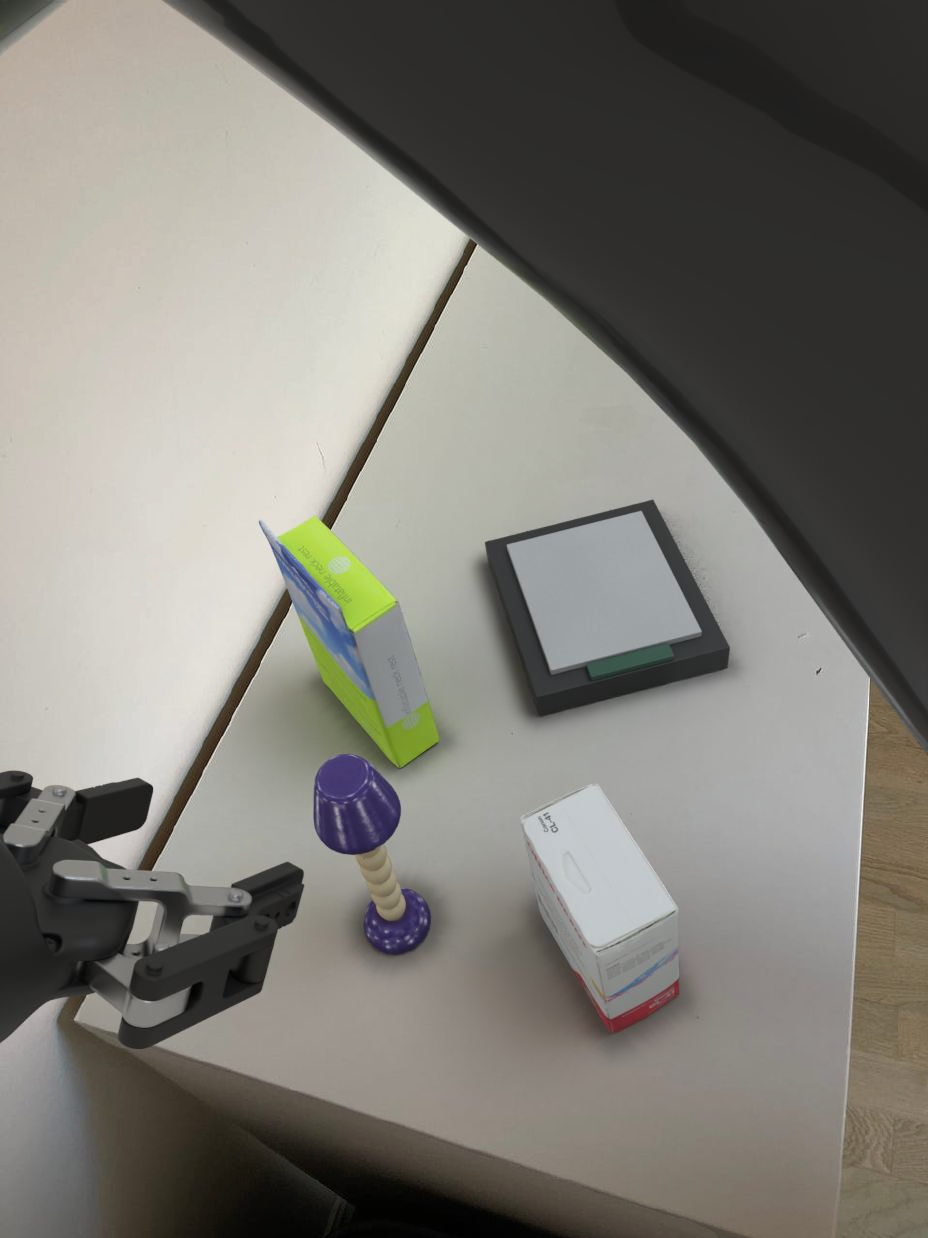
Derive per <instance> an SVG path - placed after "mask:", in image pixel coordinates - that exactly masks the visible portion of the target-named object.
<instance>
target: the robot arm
mask: <svg viewBox="0 0 928 1238" xmlns="http://www.w3.org/2000/svg"><path fill="white" fill-rule="evenodd" d="M69 1H70V0H0V56H1V55H3V54H4V53H5V52H7V50H9V49H11V48H12V47H13V46H14V45H15V44H17V42H19V41H20V40H22V39H23V38H24V37H25V36H27V35H28V34H29V33H30V32H32V31H33V30H34V29H35V28H36V27H38V26H39V25H40V24H41V23H43V22H44V21H46V19H48V18H49V17H50V16H52V15H53V14H55V12H57V11H58V10H59V9H60V8H62V7H63V6H64V5H66V3H68V2H69ZM161 2H163V3H164V4H166V5H167V6H169V7H170V8H171V9H173V10H174V11H175V12H177V13H178V14H179V15H181V16H182V17H184V18H185V19H186V20H188V21H189V22H191V23H193V24H194V25H195V26H196V27H198V28H199V29H201V30H202V31H203V32H205V33H207V34H208V35H210V36H211V37H212V38H214V39H215V40H216V41H218V42H219V43H221V44H222V45H223V46H224V47H226V48H227V49H228V50H230V51H231V52H232V53H234V54H235V55H237V56H238V57H239V58H241V59H242V60H243V61H245V62H246V63H247V64H249V65H250V66H251V67H253V68H254V70H257V71H258V72H259V73H261V75H263V76H264V77H266V78H267V79H268V80H270V81H271V82H272V83H274V84H275V85H277V86H278V87H279V88H280V89H282V90H283V91H284V92H286V93H287V94H288V95H290V96H291V97H293V98H294V99H296V100H297V102H299V103H300V104H302V105H303V106H305V107H306V108H307V109H308V110H310V111H311V112H312V113H314V114H315V115H316V116H318V117H319V118H321V120H323V121H325V122H326V123H328V124H329V125H330V126H331V127H333V128H334V129H335V130H336V131H338V132H339V134H341V135H342V136H344V138H346V139H347V140H349V141H350V142H351V143H352V144H353V145H355V146H356V147H357V148H358V149H359V150H361V151H362V152H363V153H364V154H366V155H367V156H368V157H369V158H371V159H372V160H373V161H374V162H376V163H377V164H378V165H379V166H380V167H382V168H383V169H384V170H385V171H387V172H388V173H389V174H390V175H391V176H393V177H394V178H395V179H396V180H398V181H399V182H400V183H401V184H403V185H404V186H405V187H406V188H408V189H409V190H410V192H413V193H414V194H415V195H416V196H417V197H419V198H420V199H421V200H422V201H423V202H425V203H426V205H428V206H429V207H431V208H432V209H433V210H434V211H436V212H437V213H438V214H439V215H440V216H442V217H443V218H445V219H446V220H447V221H448V223H450V224H452V225H453V226H454V227H455V228H457V230H459V231H460V232H461V233H463V234H464V235H465V236H466V237H467V238H469V239H470V240H471V241H473V242H474V243H475V244H476V245H477V246H479V247H480V248H481V249H483V250H484V251H485V252H486V253H487V254H488V255H490V256H491V257H493V259H495V260H496V261H497V262H498V263H499V264H501V265H502V266H503V267H504V268H506V269H507V270H508V271H509V272H511V273H512V274H513V275H514V276H516V277H517V278H518V279H519V280H521V281H522V282H523V283H524V284H526V285H527V286H528V287H529V288H530V289H531V290H533V291H534V292H535V293H537V294H538V295H539V296H541V297H542V298H543V299H544V300H545V301H546V302H548V304H549V305H551V306H552V307H553V308H554V309H555V310H556V311H557V312H559V313H560V314H561V315H562V317H564V318H565V319H566V320H567V321H568V322H570V323H571V325H573V326H574V327H575V328H576V329H577V330H578V331H579V332H580V333H582V334H583V336H585V337H586V338H587V339H588V340H589V341H590V342H591V343H593V345H595V346H596V347H597V348H598V349H599V350H601V352H603V353H604V355H606V356H607V357H608V358H609V360H611V361H613V363H615V364H616V365H617V366H618V367H619V368H621V370H622V371H624V372H625V373H626V375H628V376H629V378H631V380H633V381H634V383H636V385H637V386H638V387H639V388H640V389H641V390H642V391H643V392H644V394H646V395H647V396H648V397H649V398H650V400H652V402H653V403H655V404H656V405H657V407H659V408H660V409H661V411H662V412H663V413H664V414H665V415H666V416H667V417H668V418H669V419H670V420H671V421H672V422H673V423H674V424H675V425H676V426H677V427H678V428H679V429H680V430H681V431H682V433H684V434H685V435H686V437H687V438H688V439H689V440H690V441H691V442H692V443H693V444H694V446H695V447H696V448H697V449H698V450H699V452H700V453H701V454H702V455H703V456H704V458H705V459H706V460H707V461H708V462H709V464H710V465H711V466H712V467H713V469H714V470H715V471H716V472H717V474H718V475H719V476H720V478H721V479H722V480H723V481H724V482H725V483H726V485H727V486H728V487H729V488H730V490H731V491H732V492H733V493H734V495H735V496H736V497H737V498H738V499H739V500H740V502H741V503H742V504H743V506H744V507H745V508H746V510H747V511H748V512H749V513H750V514H751V515H752V517H753V518H754V520H755V521H756V522H757V524H758V526H759V527H760V528H761V529H762V531H763V532H764V534H765V535H766V536H767V538H768V539H769V541H770V542H771V543H772V544H773V546H774V548H775V549H776V550H777V551H778V553H779V554H780V555H781V557H782V558H783V561H785V563H786V564H787V565H788V567H789V569H790V570H791V571H792V573H793V574H794V575H795V577H796V578H797V579H798V581H799V582H800V583H801V585H802V587H804V589H805V590H806V592H807V594H808V595H809V596H810V597H811V599H812V600H813V602H814V603H815V604H816V606H817V607H818V608H819V610H820V611H821V613H822V614H823V616H824V617H825V618H826V619H827V621H828V623H829V624H830V625H831V626H832V628H833V629H834V631H835V632H836V633H837V635H838V636H839V638H840V639H841V640H842V642H843V643H844V645H845V646H846V647H847V648H848V650H849V651H850V653H851V654H852V656H853V657H854V658H855V660H856V661H857V662H858V664H859V665H860V667H861V668H862V670H863V671H864V672H865V673H866V674H867V676H868V678H869V679H870V681H871V682H872V684H874V686H875V688H876V689H877V690H878V691H879V693H880V695H881V696H882V697H883V698H884V700H885V701H886V702H887V705H888V706H889V707H890V708H891V709H892V710H893V712H894V713H895V715H896V716H897V718H899V719H900V722H902V723H903V725H904V727H905V728H906V729H907V730H908V732H909V733H910V734H911V735H912V737H913V738H914V740H915V741H916V743H918V745H919V746H920V748H921V749H922V751H924V753H925V754H926V755H927V756H928V0H161ZM33 781H34V776H33V775H32V774H30V773H29V772H26V771H23V770H6V771H2V772H0V1044H2V1043H3V1042H4V1041H5V1040H7V1039H8V1038H9V1037H10V1036H12V1034H13V1033H14V1032H15V1031H16V1030H17V1029H19V1028H20V1026H22V1025H23V1024H24V1022H26V1021H27V1020H28V1019H29V1018H30V1017H31V1016H32V1015H33V1014H34V1013H35V1012H36V1011H38V1010H39V1009H40V1008H41V1007H42V1006H44V1005H45V1004H47V1003H48V1002H51V1001H54V1000H58V999H65V998H70V997H82V996H84V997H85V996H89V995H92V994H95V993H96V994H97V995H98V996H100V997H101V998H102V999H103V1000H105V1001H106V1003H108V1004H109V1005H111V1006H112V1007H113V1008H114V1009H116V1010H117V1011H118V1012H120V1013H121V1014H122V1015H121V1018H120V1023H119V1027H118V1032H117V1040H118V1041H119V1043H120V1044H122V1045H123V1046H125V1047H126V1048H128V1049H133V1050H144V1049H145V1050H146V1049H148V1048H151V1047H153V1046H155V1045H156V1044H159V1043H161V1042H164V1041H165V1040H167V1039H169V1038H171V1037H173V1036H176V1035H177V1034H180V1033H182V1032H183V1031H186V1030H188V1029H189V1028H191V1027H192V1028H193V1026H195V1025H198V1024H200V1023H201V1022H204V1021H206V1020H208V1019H210V1018H212V1017H214V1016H216V1015H218V1014H220V1013H222V1012H224V1011H226V1010H228V1009H230V1008H233V1007H234V1006H237V1005H238V1004H240V1003H242V1002H244V1001H247V1000H249V999H251V998H253V997H255V996H257V995H258V994H260V993H261V992H262V991H263V987H264V983H265V980H266V976H267V972H268V969H269V965H270V961H271V957H272V954H273V951H274V946H275V943H276V942H275V941H276V939H277V935H278V931H279V930H280V929H282V928H284V927H287V926H289V925H290V924H292V923H293V922H294V921H295V918H297V914H298V911H299V908H300V903H301V900H302V895H303V892H304V888H305V884H304V883H303V881H304V878H305V877H304V876H305V871H304V869H303V868H301V867H299V866H297V865H295V864H293V863H292V862H290V861H284V862H282V863H280V864H277V865H275V866H273V867H269V868H267V869H265V870H263V871H260V872H258V873H255V874H253V875H251V876H248V877H245V878H243V879H240V880H238V881H236V882H233V883H231V884H230V887H224V886H206V885H191V884H190V885H189V884H188V883H187V882H186V880H185V878H184V876H183V875H182V874H181V873H179V872H176V871H163V870H161V871H160V870H142V869H128V868H126V867H124V866H122V865H120V864H118V863H115V862H112V861H110V860H108V859H105V858H103V857H102V856H101V855H100V854H99V853H98V852H97V851H96V850H95V849H94V848H93V847H92V846H90V845H92V844H94V843H98V842H100V841H105V840H107V839H112V838H114V837H118V836H122V835H124V834H128V833H131V832H135V831H138V830H139V829H141V828H142V827H143V826H144V825H145V824H146V822H147V820H148V815H149V811H150V806H151V802H152V799H153V795H154V786H153V785H152V783H149V782H147V781H146V780H144V779H143V778H141V777H134V778H130V779H124V780H121V781H115V782H114V781H113V782H108V783H104V784H102V785H101V784H100V785H99V784H98V785H95V786H91V787H86V788H82V789H78V790H74V789H73V788H71V787H69V786H66V785H60V784H52V785H51V784H50V785H48V786H47V785H46V786H45V787H44V788H43V789H40V788H38V787H34V786H33ZM140 902H150V903H157V905H156V910H155V913H154V918H153V922H152V926H151V931H150V934H149V935H148V937H147V938H146V939H145V940H143V941H141V942H139V943H128V942H129V939H130V936H131V934H132V932H133V929H134V925H135V921H136V917H137V912H138V908H139V905H140ZM190 916H208V917H209V916H210V917H212V919H211V923H210V927H209V930H208V932H205V933H203V934H194V933H192V934H191V933H182V928H183V924H184V922H185V920H186V919H187V918H188V917H190Z"/></svg>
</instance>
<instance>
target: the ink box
mask: <svg viewBox="0 0 928 1238" xmlns="http://www.w3.org/2000/svg"><path fill="white" fill-rule="evenodd" d="M519 822H520V825H521V831H522V835H523V839H524V840H523V841H524V844H525V849H526V853H527V854H526V855H527V859H528V864H529V868H530V871H531V877H532V881H533V887H534V890H535V891H534V892H535V895H536V901H537V905H538V910H539V912H540V913H539V914H540V916H541V918H542V919H543V922H544V923H545V925H546V926H547V928H548V930H549V931H550V933H551V935H552V937H553V939H554V940H555V942H556V943H557V945H558V947H559V948H560V951H561V952H562V954H563V955H564V957H565V959H566V961H567V963H568V964H569V966H570V968H571V969H572V971H573V973H574V974H575V976H576V978H577V979H578V981H579V982H580V985H581V986H582V987H583V989H584V991H585V993H586V994H587V996H588V998H589V999H590V1002H591V1004H592V1005H593V1006H594V1008H595V1010H596V1011H597V1013H598V1016H599V1017H600V1019H601V1020H602V1022H603V1024H604V1025H605V1027H606V1029H607V1032H609V1033H610V1034H615V1033H618V1032H621V1031H623V1030H624V1029H627V1028H628V1027H630V1026H632V1025H634V1024H636V1023H637V1022H639V1021H641V1020H643V1019H644V1018H646V1017H648V1016H650V1015H651V1014H653V1013H654V1012H656V1011H657V1010H659V1009H660V1008H662V1007H664V1006H665V1005H667V1003H670V1002H671V1001H672V1000H673V999H675V998H676V997H678V996H679V995H680V972H679V971H680V969H679V968H680V967H679V966H680V965H679V911H680V908H679V907H678V905H677V904H676V902H675V901H674V898H672V896H671V895H670V893H669V891H668V890H667V888H666V886H665V885H664V883H663V881H662V880H661V879H660V877H659V875H658V874H657V873H656V871H655V870H654V868H653V866H652V865H651V863H650V862H649V860H648V859H647V857H646V855H644V853H643V851H642V849H641V848H640V846H639V845H638V843H637V842H636V840H635V838H633V836H632V834H631V833H630V831H629V830H628V828H627V827H626V825H625V824H624V822H623V821H622V819H621V817H620V816H619V814H618V813H617V811H616V809H615V808H614V807H613V805H612V804H611V802H610V800H609V799H608V798H607V795H606V794H605V793H604V791H603V790H602V788H601V787H600V786H599V784H598V783H595V782H594V783H590V784H587V785H584V786H583V787H580V788H576V789H574V790H573V791H570V792H569V793H566V794H563V795H562V796H559V797H557V798H555V799H553V800H551V801H549V802H547V803H545V804H543V805H541V806H538V807H537V808H534V809H533V810H530V811H528V812H527V813H524V814H522V815H519Z"/></svg>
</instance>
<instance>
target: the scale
mask: <svg viewBox="0 0 928 1238" xmlns="http://www.w3.org/2000/svg"><path fill="white" fill-rule="evenodd" d="M484 547H485V553H486V558H487V564H488V567H489V569H490V572H491V575H492V579H493V582H494V585H495V589H496V591H497V594H498V597H499V600H500V603H501V606H502V609H503V612H504V615H505V619H506V621H507V625H508V627H509V631H510V633H511V636H512V639H513V643H514V646H515V649H516V652H517V654H518V657H519V661H520V664H521V667H522V670H523V672H524V677H525V680H526V682H527V686H528V688H529V692H530V694H531V698H532V700H533V703H534V706H535V710H536V713H537V715H538V717H544V716H548V715H551V714H552V715H553V714H555V713H558V712H559V713H560V712H562V711H567V710H571V709H575V708H578V707H583V706H586V705H589V704H594V703H597V702H600V701H605V700H610V699H612V698H616V697H621V696H625V695H628V694H632V693H636V692H640V691H644V690H648V689H652V688H655V687H659V686H663V685H666V684H671V683H674V682H679V681H682V680H687V679H689V678H694V677H698V676H702V675H705V674H709V673H714V672H717V671H721V670H724V669H728V668H729V661H730V660H729V658H730V652H731V651H730V649H731V646H730V645H729V643H728V640H727V638H726V637H725V635H724V633H723V632H722V631H723V630H722V629H721V628H720V626H719V624H718V623H719V622H717V620H716V617H715V616H714V614H713V612H712V610H711V608H710V606H709V605H708V602H707V600H706V598H705V597H704V595H703V592H702V591H701V589H700V587H699V584H698V583H697V581H696V579H695V577H694V576H693V573H692V571H691V570H690V568H689V565H688V564H687V562H686V559H685V558H684V556H683V554H682V552H681V550H680V548H679V546H678V545H677V543H676V541H675V539H674V537H673V535H672V533H671V531H670V529H669V527H668V525H667V523H666V521H665V519H664V518H663V515H662V514H661V511H660V510H659V508H658V506H657V504H656V502H655V500H654V499H650V500H646V501H642V502H638V503H634V504H629V505H625V506H621V507H618V508H614V509H610V510H605V511H602V512H598V513H594V514H589V515H586V516H583V517H582V516H581V517H579V518H574V519H571V520H566V521H563V522H558V523H555V524H550V525H546V526H543V527H539V528H534V529H530V530H526V531H523V532H517V533H514V534H510V535H507V536H506V535H505V536H503V537H499V538H495V539H491V540H487V541H485V542H484Z"/></svg>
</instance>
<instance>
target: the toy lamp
mask: <svg viewBox="0 0 928 1238" xmlns="http://www.w3.org/2000/svg"><path fill="white" fill-rule="evenodd" d="M313 784H314V785H313V813H312V814H313V826H314V830H315V832H316V835H317V837H318V838H319V840H320V842H322V844H324V846H325V847H327V848H328V849H329V850H331V851H334V852H336V853H339V854H341V855H348V856H354V857H355V861H356V862H357V864H358V865H359V870H360V873H361V875H362V877H363V878H364V879H365V885H366V887H367V889H368V891H369V892H370V896H371V901H370V902H369V903H368V905H367V907H366V910H365V913H364V918H363V932H364V936H365V938H366V940H367V941H368V943H369V944H370V946H372V947H373V949H376V950H377V951H378V952H380V953H382V954H385V955H391V956H399V955H403V954H406V953H408V952H411V951H412V950H415V949H416V948H417V947H419V946H420V945H421V944H422V943H423V942H424V940H425V939H426V938H427V936H428V934H429V932H430V929H431V924H432V913H431V909H430V907H429V905H428V903H427V901H426V899H424V897H422V895H420V894H419V893H418V892H416V891H414V890H412V889H410V888H407V887H401V884H400V883H399V882H398V875H397V873H396V871H395V869H394V868H393V863H392V860H391V858H390V855H388V849H387V846H386V843H387V842H388V841H389V839H390V838H392V836H394V833H395V832H396V830H397V828H398V826H399V824H400V821H401V820H400V819H401V816H402V804H401V801H400V798H399V795H398V793H397V791H396V790H395V788H394V787H393V786H392V784H390V783H389V781H388V780H387V779H386V778H385V777H384V776H383V775H382V774H381V773H380V772H379V771H378V770H377V768H375V766H374V765H373V764H372V763H371V762H369V760H367V759H366V758H365V757H363V756H361V755H358V754H354V753H341V754H337V755H334V756H333V757H331V758H328V760H326V761H325V762H324V763H323V764H321V766H320V767H319V769H318V771H317V772H316V775H315V777H314V783H313Z"/></svg>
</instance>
